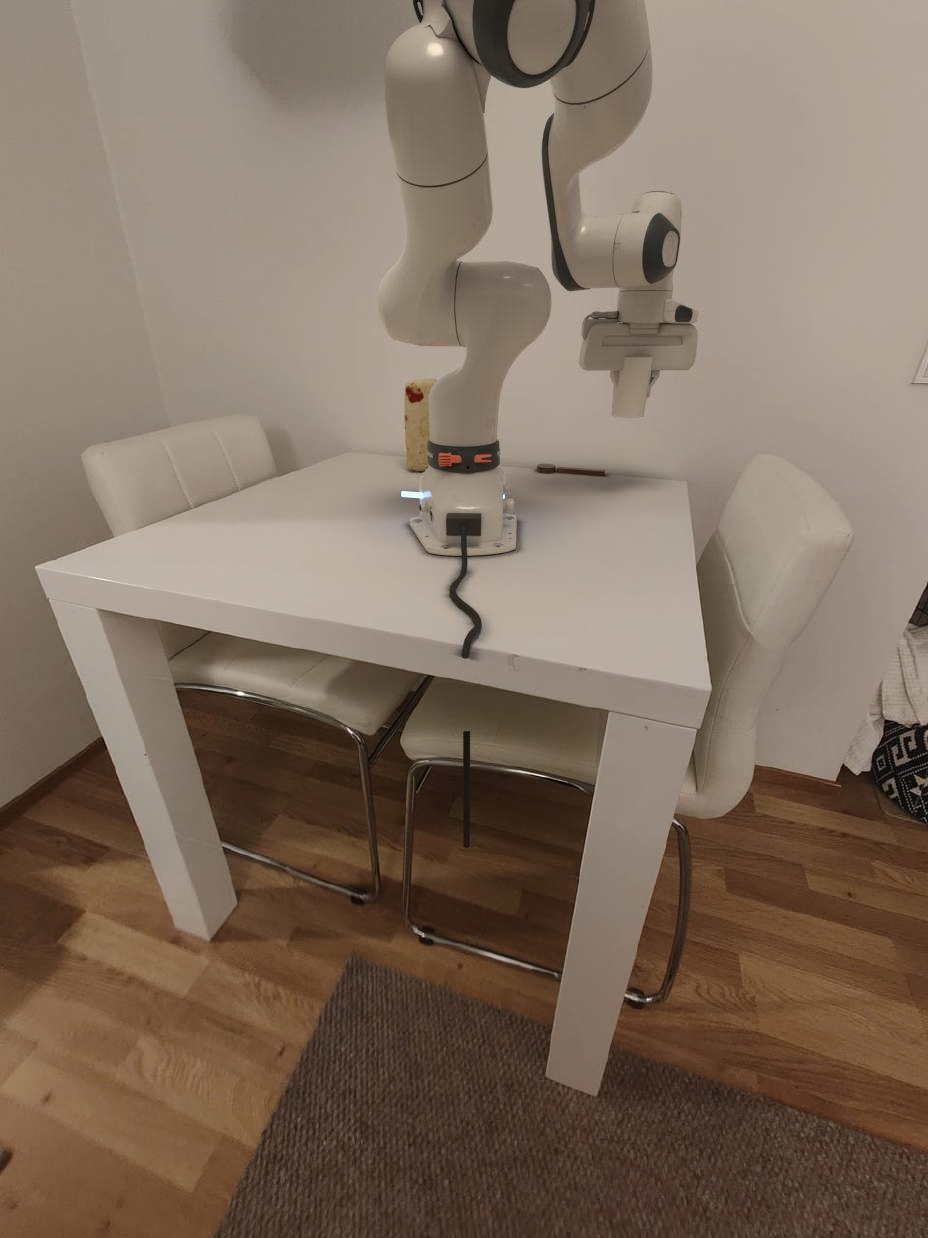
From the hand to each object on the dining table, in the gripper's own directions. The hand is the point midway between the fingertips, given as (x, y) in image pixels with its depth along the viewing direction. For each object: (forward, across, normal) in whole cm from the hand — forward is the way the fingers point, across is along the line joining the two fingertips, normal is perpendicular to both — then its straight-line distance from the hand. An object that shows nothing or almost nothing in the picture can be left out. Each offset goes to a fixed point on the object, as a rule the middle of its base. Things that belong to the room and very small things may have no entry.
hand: (631, 397), depth 104 cm
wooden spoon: (+19, -4, +22) cm, 29 cm away
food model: (+19, -37, +28) cm, 50 cm away
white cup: (+3, 0, 0) cm, 3 cm away
